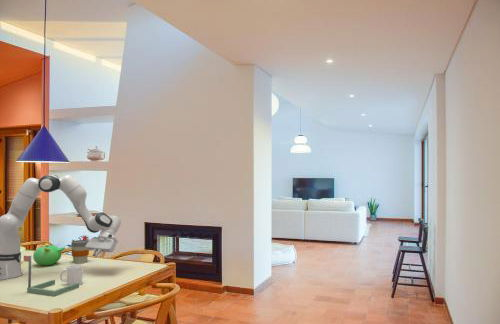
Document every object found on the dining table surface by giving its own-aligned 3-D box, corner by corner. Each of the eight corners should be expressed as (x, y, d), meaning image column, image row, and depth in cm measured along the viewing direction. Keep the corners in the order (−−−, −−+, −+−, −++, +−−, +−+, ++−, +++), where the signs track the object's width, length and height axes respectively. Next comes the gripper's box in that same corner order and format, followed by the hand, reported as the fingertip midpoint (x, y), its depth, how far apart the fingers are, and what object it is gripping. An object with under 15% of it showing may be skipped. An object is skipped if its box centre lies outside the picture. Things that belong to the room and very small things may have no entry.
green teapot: (52, 261, 293) (52, 240, 293) (67, 264, 284) (67, 243, 285) (28, 266, 277) (28, 244, 278) (42, 269, 269) (43, 247, 269)
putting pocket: (47, 283, 235) (48, 249, 236) (78, 287, 228) (79, 252, 228) (21, 291, 219) (22, 255, 219) (54, 296, 211) (55, 258, 212)
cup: (81, 284, 233) (82, 267, 233) (59, 286, 229) (59, 268, 229) (82, 281, 241) (82, 264, 241) (60, 283, 236) (60, 265, 237)
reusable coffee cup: (66, 262, 288) (67, 241, 289) (82, 259, 299) (82, 239, 299) (77, 265, 282) (78, 243, 282) (93, 261, 292) (93, 241, 293)
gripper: (90, 234, 264) (78, 251, 255) (116, 236, 257) (105, 254, 248) (94, 239, 268) (83, 257, 259) (120, 241, 261) (110, 260, 252)
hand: (94, 255), depth 253 cm, fingers closed
